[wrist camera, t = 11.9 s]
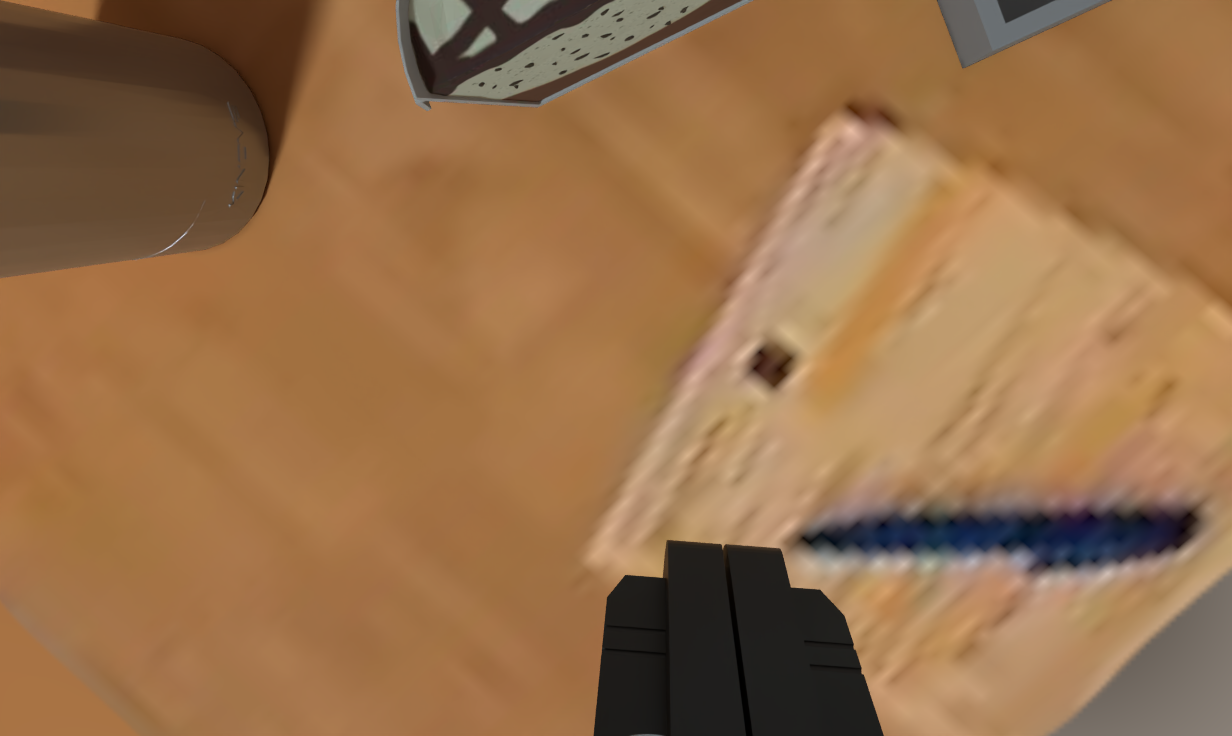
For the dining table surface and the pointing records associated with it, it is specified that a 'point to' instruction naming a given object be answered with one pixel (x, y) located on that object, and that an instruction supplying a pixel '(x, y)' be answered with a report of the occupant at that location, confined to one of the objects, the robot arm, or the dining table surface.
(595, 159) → the dining table surface
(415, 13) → the food container
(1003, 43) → the box
